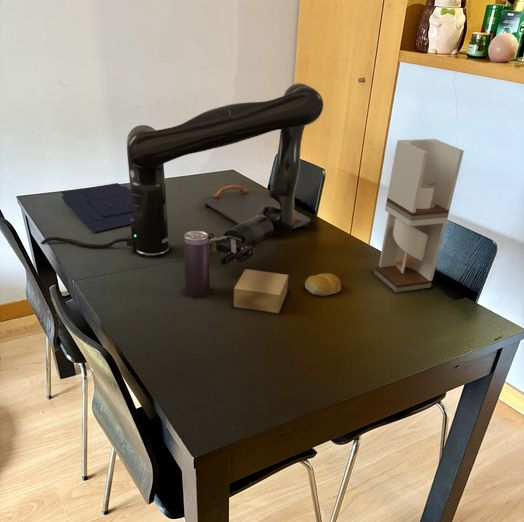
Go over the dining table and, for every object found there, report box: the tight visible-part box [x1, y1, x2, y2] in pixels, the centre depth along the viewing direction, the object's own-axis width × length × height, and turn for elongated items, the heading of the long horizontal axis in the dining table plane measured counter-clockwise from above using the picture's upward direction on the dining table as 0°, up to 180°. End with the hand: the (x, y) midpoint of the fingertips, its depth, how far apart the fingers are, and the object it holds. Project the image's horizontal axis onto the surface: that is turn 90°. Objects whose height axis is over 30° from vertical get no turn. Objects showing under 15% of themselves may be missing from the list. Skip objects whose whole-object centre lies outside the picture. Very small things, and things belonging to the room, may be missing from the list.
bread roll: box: [304, 272, 342, 297], centre depth 140 cm, size 8×9×4 cm
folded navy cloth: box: [60, 182, 133, 233], centre depth 179 cm, size 24×30×4 cm
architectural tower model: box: [373, 138, 465, 293], centre depth 137 cm, size 11×11×35 cm
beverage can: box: [183, 230, 211, 298], centre depth 132 cm, size 6×6×15 cm
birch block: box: [233, 268, 289, 314], centre depth 133 cm, size 11×11×5 cm
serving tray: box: [201, 184, 311, 230], centre depth 180 cm, size 39×23×6 cm, turn 34°
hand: (207, 256), depth 135 cm, fingers open, 8 cm apart
